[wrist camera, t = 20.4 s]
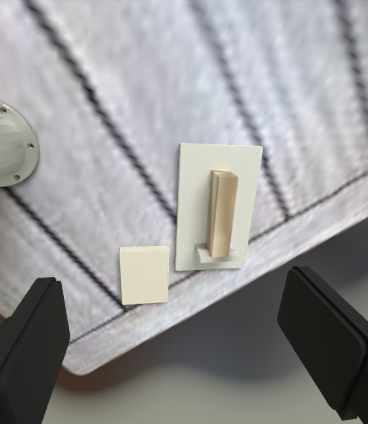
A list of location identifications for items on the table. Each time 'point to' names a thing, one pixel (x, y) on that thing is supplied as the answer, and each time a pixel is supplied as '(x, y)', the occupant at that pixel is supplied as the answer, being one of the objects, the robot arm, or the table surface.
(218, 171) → the beige upright post
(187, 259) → the white rectangular board
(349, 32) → the table surface
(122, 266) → the tile
